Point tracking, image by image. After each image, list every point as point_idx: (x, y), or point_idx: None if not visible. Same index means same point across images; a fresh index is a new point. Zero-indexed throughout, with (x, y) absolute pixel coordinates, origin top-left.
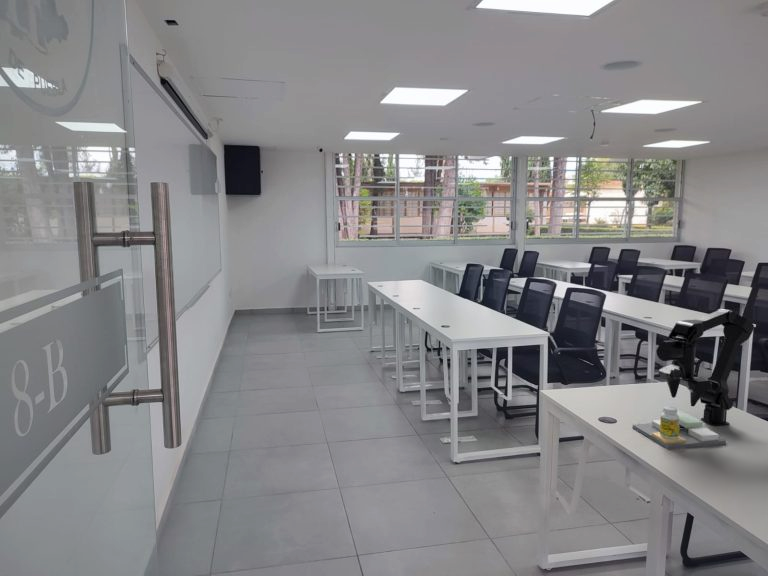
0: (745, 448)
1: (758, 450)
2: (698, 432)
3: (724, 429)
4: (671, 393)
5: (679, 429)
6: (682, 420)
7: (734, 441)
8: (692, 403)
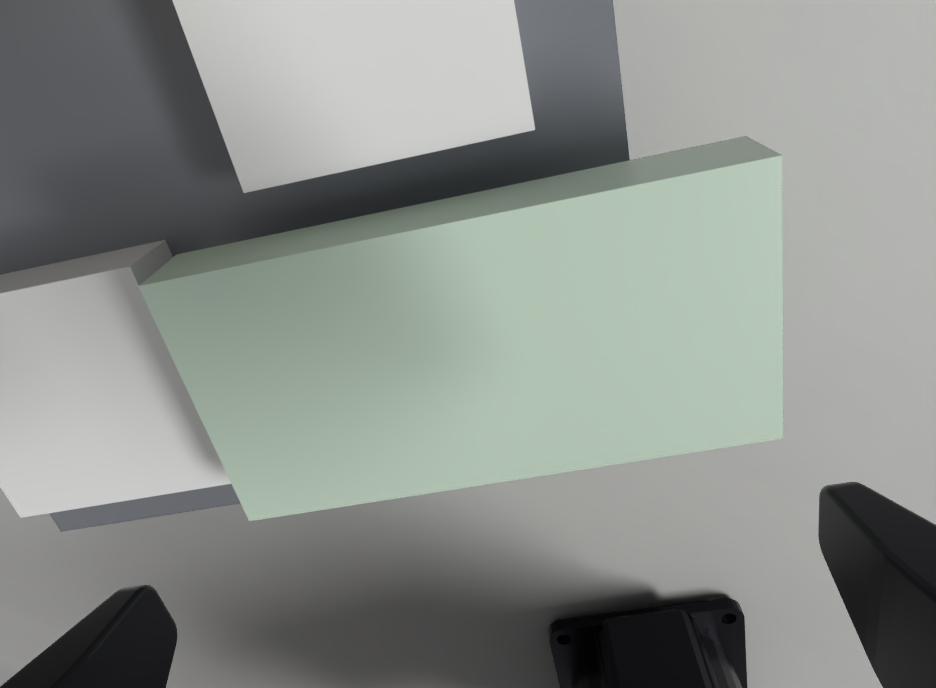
0: (23, 596)
1: (10, 655)
2: (10, 330)
3: (467, 653)
4: (916, 545)
5: (319, 198)
6: (259, 276)
7: (174, 595)
8: (48, 655)
